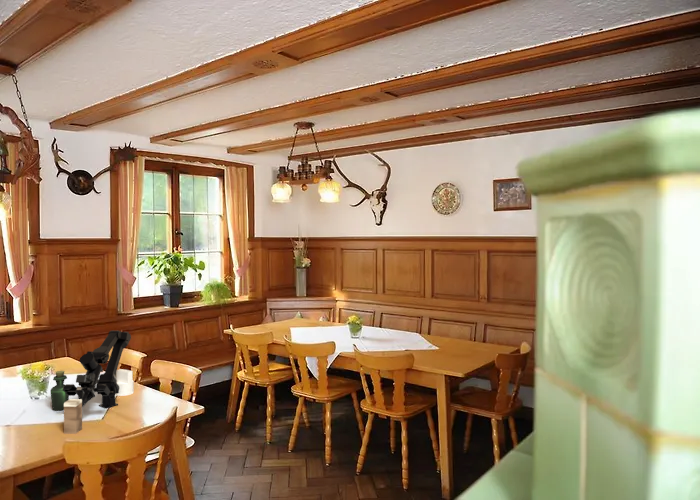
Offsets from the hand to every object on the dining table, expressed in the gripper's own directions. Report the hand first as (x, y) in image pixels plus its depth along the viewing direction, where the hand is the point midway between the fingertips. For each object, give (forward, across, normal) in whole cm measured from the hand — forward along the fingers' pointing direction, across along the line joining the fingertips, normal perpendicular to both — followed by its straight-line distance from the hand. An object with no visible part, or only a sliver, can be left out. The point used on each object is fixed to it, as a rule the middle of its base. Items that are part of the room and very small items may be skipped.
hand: (79, 407), depth 223 cm
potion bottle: (-10, -21, +22) cm, 32 cm away
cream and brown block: (+10, 0, +2) cm, 10 cm away
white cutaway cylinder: (-28, -1, +39) cm, 48 cm away
